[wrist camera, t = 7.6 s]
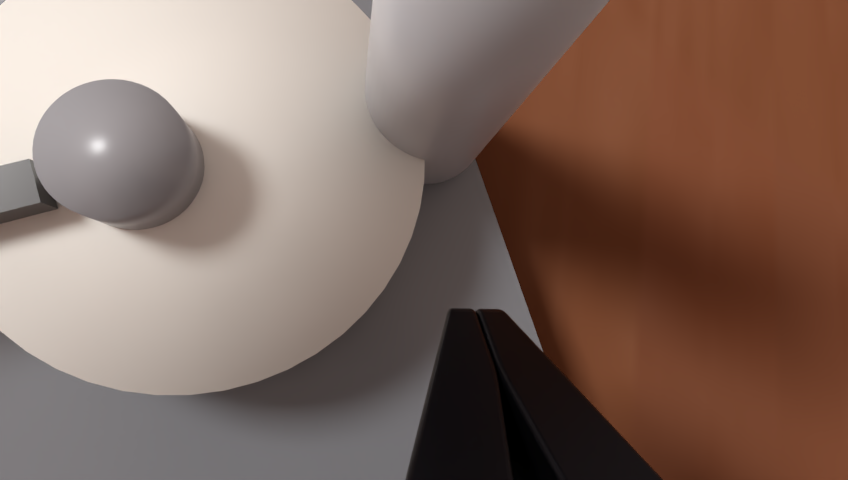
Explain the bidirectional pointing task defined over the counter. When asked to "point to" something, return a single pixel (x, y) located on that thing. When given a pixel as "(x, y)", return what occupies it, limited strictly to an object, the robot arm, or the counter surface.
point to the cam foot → (235, 168)
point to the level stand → (280, 379)
